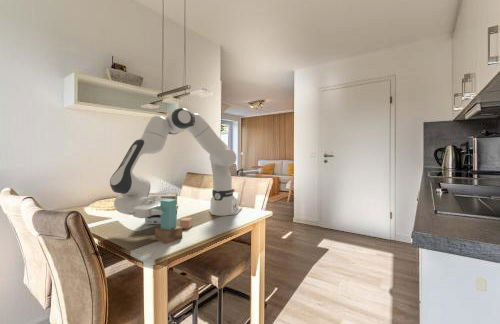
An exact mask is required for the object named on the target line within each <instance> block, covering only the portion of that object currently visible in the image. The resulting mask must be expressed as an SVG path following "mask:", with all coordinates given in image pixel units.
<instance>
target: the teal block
mask: <svg viewBox="0 0 500 324" xmlns="http://www.w3.org/2000/svg"><path fill="white" fill-rule="evenodd" d="M161 210H163V214H161V224H160V227H161V229H166V230H171V229H173V228H175V227H176V225H177V219H176V199H165V200H161Z"/></svg>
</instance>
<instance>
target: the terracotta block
mask: <svg viewBox="0 0 500 324" xmlns="http://www.w3.org/2000/svg"><path fill="white" fill-rule="evenodd" d="M179 226H180V227H182V229H190V228H191V227H192V226H193V217H182V218H181V219H180V220H179Z"/></svg>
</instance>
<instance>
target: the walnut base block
mask: <svg viewBox="0 0 500 324" xmlns="http://www.w3.org/2000/svg"><path fill="white" fill-rule="evenodd" d="M154 234H155V235H154V239H155V240H156V241H158V242H161V243H163V244H165V245H167V244H170V243H172V242H176V241H178V240H181V239H183V228H182V227H180V225H177V224H176V227H175V228H173V229H171V230H166V229H161V226H159V227H155V228H154Z"/></svg>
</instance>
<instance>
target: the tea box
mask: <svg viewBox="0 0 500 324" xmlns="http://www.w3.org/2000/svg"><path fill="white" fill-rule="evenodd" d="M148 197H161V198H166V199H176V205H178V192H155V193H154V192H153V193H152V192H151V193H150V192H149V195H148ZM177 219H178V209H176V220H177ZM144 225H145V226H147V225H161V215H153V216H150V217H147V218H144Z"/></svg>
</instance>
